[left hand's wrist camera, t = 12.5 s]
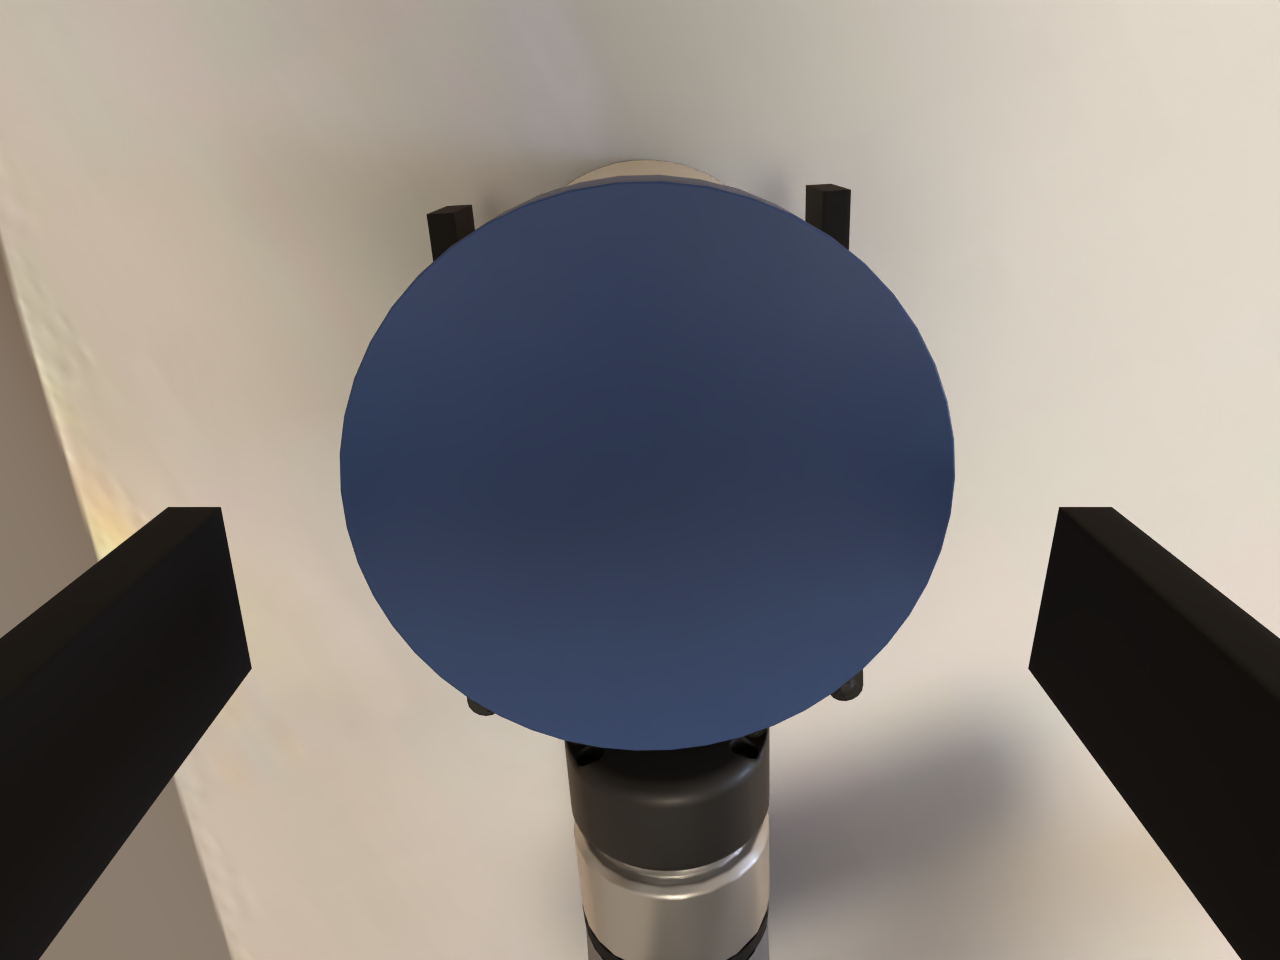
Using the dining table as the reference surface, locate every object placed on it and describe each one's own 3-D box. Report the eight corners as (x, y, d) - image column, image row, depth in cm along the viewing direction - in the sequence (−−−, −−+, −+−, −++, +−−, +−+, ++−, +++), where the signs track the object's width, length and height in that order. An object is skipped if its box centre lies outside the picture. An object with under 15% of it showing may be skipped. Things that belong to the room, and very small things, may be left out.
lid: (930, 145, 15) (971, 147, 13) (914, 671, 19) (943, 731, 17) (316, 205, 15) (270, 215, 13) (427, 707, 19) (404, 770, 17)
